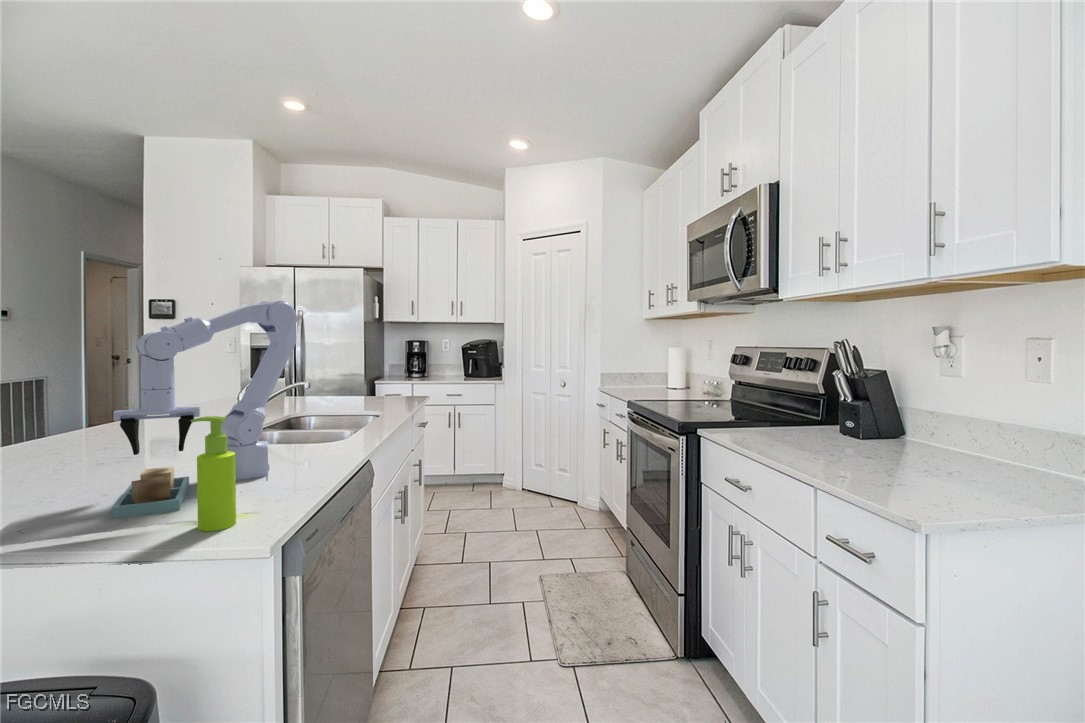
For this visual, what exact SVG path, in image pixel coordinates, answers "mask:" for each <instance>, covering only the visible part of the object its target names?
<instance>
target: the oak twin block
mask: <svg viewBox="0 0 1085 723" xmlns="http://www.w3.org/2000/svg"><path fill="white" fill-rule="evenodd" d="M139 476H140V477H139V480H143V479H149V478H155V477H162V476H163V477H165V478H166V479H167V480H169V481H170V488H174V478H175V467H174V466H169V467H158V468H157V467H155V468H145V469H144V470H142V472H141V474H140V475H139Z"/></svg>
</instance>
